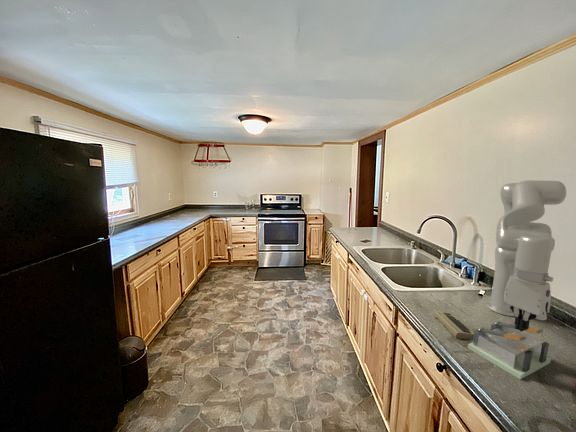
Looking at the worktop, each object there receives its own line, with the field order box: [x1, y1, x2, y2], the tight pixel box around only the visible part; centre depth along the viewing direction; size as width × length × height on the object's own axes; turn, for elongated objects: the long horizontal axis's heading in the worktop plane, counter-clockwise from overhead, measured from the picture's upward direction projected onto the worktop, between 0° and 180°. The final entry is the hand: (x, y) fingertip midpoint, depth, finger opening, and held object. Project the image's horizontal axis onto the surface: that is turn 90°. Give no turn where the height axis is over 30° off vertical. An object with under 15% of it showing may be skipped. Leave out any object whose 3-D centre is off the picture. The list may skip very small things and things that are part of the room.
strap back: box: [493, 321, 544, 334], centre depth 92 cm, size 2×14×1 cm, turn 23°
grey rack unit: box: [472, 321, 550, 372], centre depth 90 cm, size 16×15×6 cm
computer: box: [433, 310, 474, 340], centre depth 108 cm, size 16×8×3 cm, turn 179°
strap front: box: [477, 327, 526, 341], centre depth 88 cm, size 2×14×1 cm, turn 23°
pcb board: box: [467, 342, 552, 380], centre depth 91 cm, size 18×16×2 cm
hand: (520, 329), depth 82 cm, fingers closed
